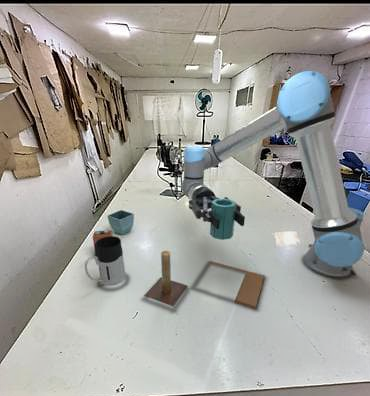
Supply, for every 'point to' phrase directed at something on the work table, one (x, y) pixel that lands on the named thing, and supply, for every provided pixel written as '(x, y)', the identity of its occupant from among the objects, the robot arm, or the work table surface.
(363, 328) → the work table surface
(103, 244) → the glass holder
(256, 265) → the work table surface
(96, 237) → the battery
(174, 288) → the peg stand
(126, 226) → the flower pot
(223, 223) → the sleeve
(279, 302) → the work table surface
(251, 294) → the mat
